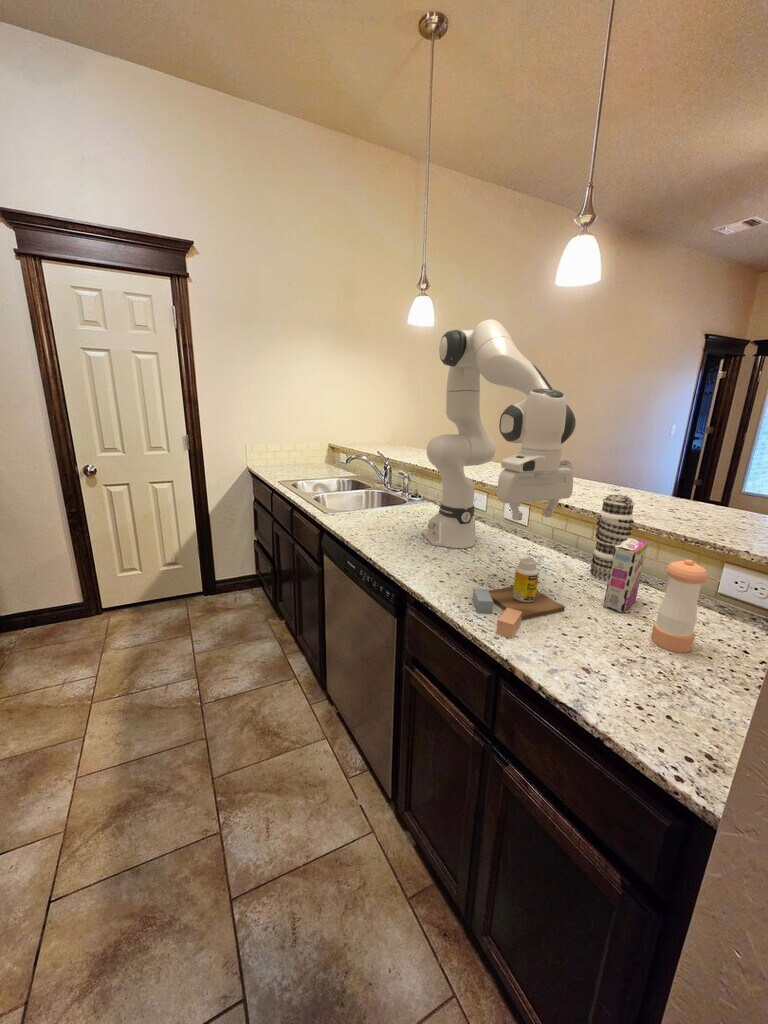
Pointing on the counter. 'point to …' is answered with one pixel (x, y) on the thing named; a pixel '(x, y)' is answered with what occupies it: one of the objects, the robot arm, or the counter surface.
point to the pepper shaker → (679, 607)
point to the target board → (525, 603)
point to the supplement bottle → (525, 580)
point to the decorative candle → (610, 534)
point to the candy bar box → (625, 574)
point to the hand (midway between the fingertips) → (532, 518)
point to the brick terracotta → (509, 622)
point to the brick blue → (482, 601)
